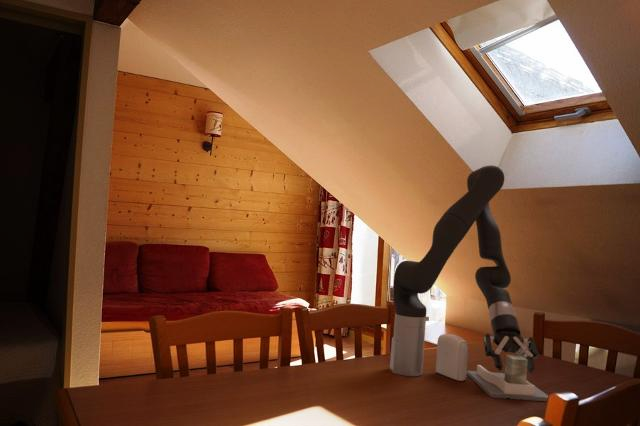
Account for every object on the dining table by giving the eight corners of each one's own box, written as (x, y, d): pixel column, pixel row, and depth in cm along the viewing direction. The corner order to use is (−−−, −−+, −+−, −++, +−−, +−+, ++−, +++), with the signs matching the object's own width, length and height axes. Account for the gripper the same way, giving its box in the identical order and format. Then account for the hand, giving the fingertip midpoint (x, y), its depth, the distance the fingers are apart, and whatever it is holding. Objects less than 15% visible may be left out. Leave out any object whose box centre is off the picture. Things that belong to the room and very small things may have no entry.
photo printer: (433, 372, 161) (436, 331, 161) (443, 371, 163) (446, 331, 163) (457, 382, 152) (460, 339, 152) (468, 380, 154) (471, 338, 154)
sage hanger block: (510, 392, 142) (512, 359, 142) (503, 386, 147) (506, 354, 147) (525, 393, 142) (527, 360, 142) (518, 387, 147) (520, 355, 147)
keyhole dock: (490, 397, 139) (491, 384, 139) (466, 373, 161) (467, 362, 161) (550, 401, 140) (551, 388, 140) (518, 377, 162) (518, 366, 162)
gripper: (483, 311, 153) (494, 361, 141) (531, 315, 153) (546, 365, 141) (476, 326, 158) (486, 375, 146) (523, 329, 158) (537, 379, 146)
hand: (516, 370), depth 144 cm, fingers open, 8 cm apart
